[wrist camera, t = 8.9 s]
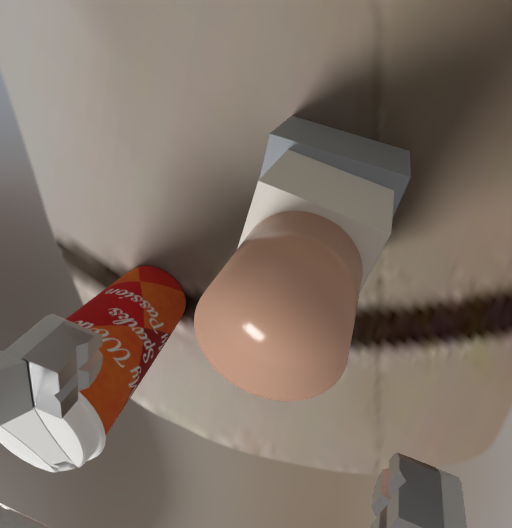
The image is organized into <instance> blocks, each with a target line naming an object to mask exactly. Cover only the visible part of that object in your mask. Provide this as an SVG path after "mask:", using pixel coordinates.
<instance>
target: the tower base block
mask: <svg viewBox="0 0 512 528" xmlns="http://www.w3.org/2000/svg"><path fill="white" fill-rule="evenodd" d="M288 149H289V150H291V151H294V152H296V153H299V154H302V155H304V156H307V157H309V158H312V159H314V160H317V161H320V162H322V163H325V164H327V165H330V166H332V167H335V168H337V169H340V170H343V171H345V172H348V173H350V174H353V175H355V176H358V177H361V178H363V179H366V180H368V181H371V182H373V183H376V184H379V185H381V186H384V187H386V188H389V189H391V190H394V202H393V216H392V219H393V217H394V214H395V212H396V210H397V207H398V205H399V203H400V201H401V198H402V196H403V194H404V191H405V189H406V187H407V185H408V182H409V180H410V178H411V167H410V151H409V150H405V149H402V148H399V147H395V146H392V145H388V144H385V143H382V142H378V141H375V140H372V139H368V138H365V137H362V136H358V135H355V134H352V133H348V132H345V131H342V130H338V129H335V128H332V127H328V126H325V125H322V124H318V123H315V122H312V121H308V120H305V119H301V118H298V117H295V116H291V117H290V118H288V119H287V120H286V121H285V122H283V123H282V124H281V125H280V126H279V127H277V128H276V129H275V130H274V131H272V132H271V133H270V135H269V139H268V143H267V148H266V152H265V156H264V161H263V165H262V169H261V174H260V178H261V177H262V176H263V175H264V174H265V173H266V172H267V171H268V170H269V169H270V168H271V167H272V166H273V165H274V163H275V162H276V161H277V160H278V159H279V158H280V157H281V156H282V155H283V154H284V153H285V152H286V151H287V150H288ZM260 178H259V179H260ZM362 288H363V287H362ZM361 290H362V289H361ZM360 292H361V291H360ZM359 294H360V293H359Z"/></svg>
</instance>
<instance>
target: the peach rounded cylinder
mask: <svg viewBox="0 0 512 528" xmlns="http://www.w3.org/2000/svg"><path fill="white" fill-rule="evenodd" d="M362 276H363V266H362V260H361V257H360V253H359V251H358V249H357V247H356V245H355V243H354V242H353V240H352V239H351V238H350V236H349V235H348V234H347V233H346V232H345V231H344V230H343V229H342V228H341V227H340V226H338V225H337V224H335V223H334V222H332V221H331V220H329V219H327V218H325V217H322V216H320V215H317V214H314V213H310V212H304V211H287V212H281V213H277V214H274V215H272V216H269V217H268V218H266V219H264V220H262V221H261V222H260V223H259V224H257V225H256V226H255V227H254V228H253V229H252V231H251V232H250V233H249V234H248V236H247V237H246V238H245V240H244V241H243V242H242V244H241V245H240V246H239V248H238V249H237V250H236V252H235V253H234V254H233V255H232V257H231V258H230V259H229V261H228V262H227V263H226V265H225V266H224V267H223V269H222V270H221V271H220V272H219V274H218V275H217V276H216V278H215V279H214V280H213V282H212V283H211V284H210V286H209V287H208V288H207V290H206V291H205V292H204V294H203V295H202V297H201V298H200V300H199V302H198V304H197V307H196V311H195V317H194V327H195V333H196V338H197V341H198V343H199V346H200V348H201V350H202V352H203V354H204V355H205V357H206V358H207V360H208V361H209V362H210V364H211V365H212V366H213V367H214V368H215V369H216V370H217V371H218V372H219V373H220V374H221V375H222V376H223V377H224V378H225V379H227V380H228V381H229V382H231V383H232V384H234V385H235V386H237V387H239V388H241V389H242V390H245V391H247V392H249V393H251V394H254V395H257V396H260V397H263V398H267V399H272V400H278V401H298V400H304V399H308V398H312V397H315V396H317V395H319V394H322V393H323V392H325V391H327V390H328V389H330V388H331V387H332V386H333V385H334V384H335V383H336V382H337V381H338V380H339V378H340V377H341V375H342V374H343V372H344V370H345V367H346V364H347V360H348V354H349V349H350V343H351V338H352V332H353V327H354V321H355V315H356V310H357V304H358V299H359V293H360V288H361V282H362Z"/></svg>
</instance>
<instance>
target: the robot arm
mask: <svg viewBox="0 0 512 528" xmlns="http://www.w3.org/2000/svg"><path fill="white" fill-rule="evenodd" d="M102 344H103V337H102V335H101V334H98V333H96V332H94V331H91V330H89V329H87V328H85V327H82V326H80V325H78V324H75V323H73V322H71V321H68V320H66V319H64V318H61V317H59V316H56V315H54V314H51V315H48V316H46V317H45V318H43V319H42V320H41V321H40V322H39V323H37V324H36V325H35V326H34V327H33V328H31V329H30V330H29V331H28V332H26V333H25V334H24V335H23V336H22V337H20V338H19V339H18V340H17V341H16V342H14V343H13V344H12V345H11V346H10V347H8V348H7V349H6V350H5V351H1V350H0V426H1V425H3V424H5V423H7V422H9V421H11V420H13V419H15V418H17V417H19V416H21V415H23V414H25V413H27V412H29V411H31V410H33V408H36V409H38V410H41V411H43V412H45V413H48V414H50V415H53V416H55V417H58V418H60V419H62V418H63V417H64V416H65V415H66V413H67V412H68V411H69V410H70V409H71V408H72V407H73V405H74V404H75V403H76V402H77V401H78V391H81V390H83V389H86V388H89V387H90V385H91V384H92V383H93V382H94V380H95V379H96V377H97V375H98V373H99V372H100V370H101V366H102V362H103V355H102V353H101V352H100V350H99V348H100V347H101V346H102ZM372 509H373V511H374V513H375V515H376V518H375V520H374V521H373V522H372V524H371V525H370V528H467V525H466V516H465V508H464V500H463V491H462V483H461V481H460V479H459V477H457V476H454V475H452V474H449V473H447V472H444V471H442V470H439V469H436V467H433V466H430V465H428V464H425V463H423V462H420V461H417V460H415V459H412V458H410V457H407V456H404V455H402V454H399V453H395V454H393V456H392V457H391V459H390V460H389V468H388V469H384V470H382V472H381V473H380V475H379V477H378V479H377V481H376V484H375V487H374V492H373V497H372ZM0 528H51V527H49V526H47V525H45V524H43V523H41V522H39V521H37V520H34V519H32V518H30V517H28V516H26V515H24V514H22V513H19V512H18V511H16V510H14V509H12V508H9V507H7V506H5V505H3V504H1V503H0Z"/></svg>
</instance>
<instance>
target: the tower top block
mask: <svg viewBox="0 0 512 528" xmlns="http://www.w3.org/2000/svg"><path fill="white" fill-rule="evenodd" d="M393 202H394V190H391V189H389V188H386V187H384V186H381V185H379V184H376V183H373V182H371V181H368V180H366V179H363V178H361V177H358V176H355V175H353V174H350V173H348V172H345V171H343V170H340V169H337V168H335V167H332V166H330V165H327V164H325V163H322V162H320V161H317V160H314V159H312V158H309V157H307V156H304V155H302V154H299V153H296V152H294V151H291V150H289V149H288V150H287V151H286V152H285V153H284V154H283V155H282V156H281V157H280V158H279V159H278V160H277V161H276V162H275V163H274V165H273V166H272V167H271V168H270V169H269V170H268V171H267V172H266V173H265V174H264V175H263V176H262V177H261V178H260V179H259V180H258V183H257V187H256V190H255V193H254V196H253V200H252V203H251V206H250V209H249V213H248V216H247V219H246V222H245V226H244V229H243V232H242V235H241V239H240V242H239V245H238V248H239V246H240V245H241V244H242V242H243V241H244V240H245V238H246V237H247V236H248V234H249V233H250V232H251V231H252V229H253V228H254V227H255V226H256V225H257V224H259V223H260V222H261V221H262V220H264V219H266V218H268V217H269V216H272V215H274V214H277V213H281V212H287V211H304V212H310V213H314V214H317V215H320V216H322V217H325V218H327V219H329V220H331V221H332V222H334V223H335V224H337V225H338V226H340V227H341V228H342V229H343V230H344V231H345V232H346V233H347V234H348V235H349V236H350V238H351V239H352V240H353V242H354V243H355V245H356V247H357V249H358V251H359V253H360V257H361V260H362V266H363V276H362V282H361V288H360V291H361V289H362V287H363V285H364V284H365V282H366V280H367V278H368V276H369V274H370V272H371V271H372V269H373V267H374V265H375V263H376V261H377V259H378V258H379V256H380V254H381V252H382V250H383V248H384V246H385V245H386V243H387V241H388V239H389V237H390V235H391V230H392V216H393ZM238 248H237V249H238Z"/></svg>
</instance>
